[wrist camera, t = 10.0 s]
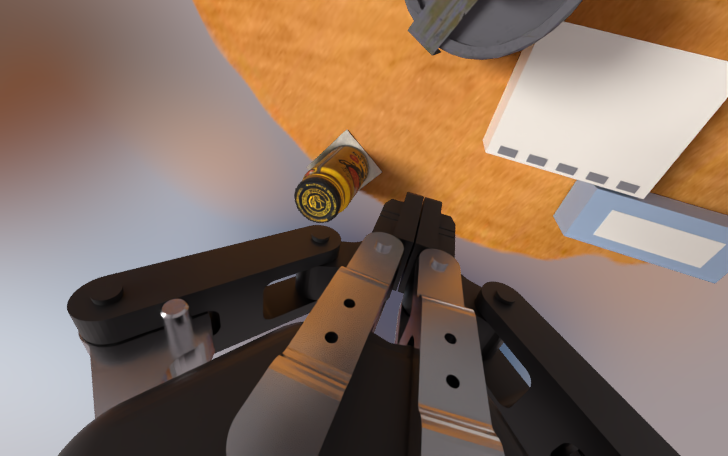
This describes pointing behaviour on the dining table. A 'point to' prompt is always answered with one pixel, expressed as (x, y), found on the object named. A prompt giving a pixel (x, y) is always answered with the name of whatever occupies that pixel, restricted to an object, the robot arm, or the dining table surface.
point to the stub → (648, 229)
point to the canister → (485, 24)
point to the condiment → (334, 179)
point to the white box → (605, 107)
